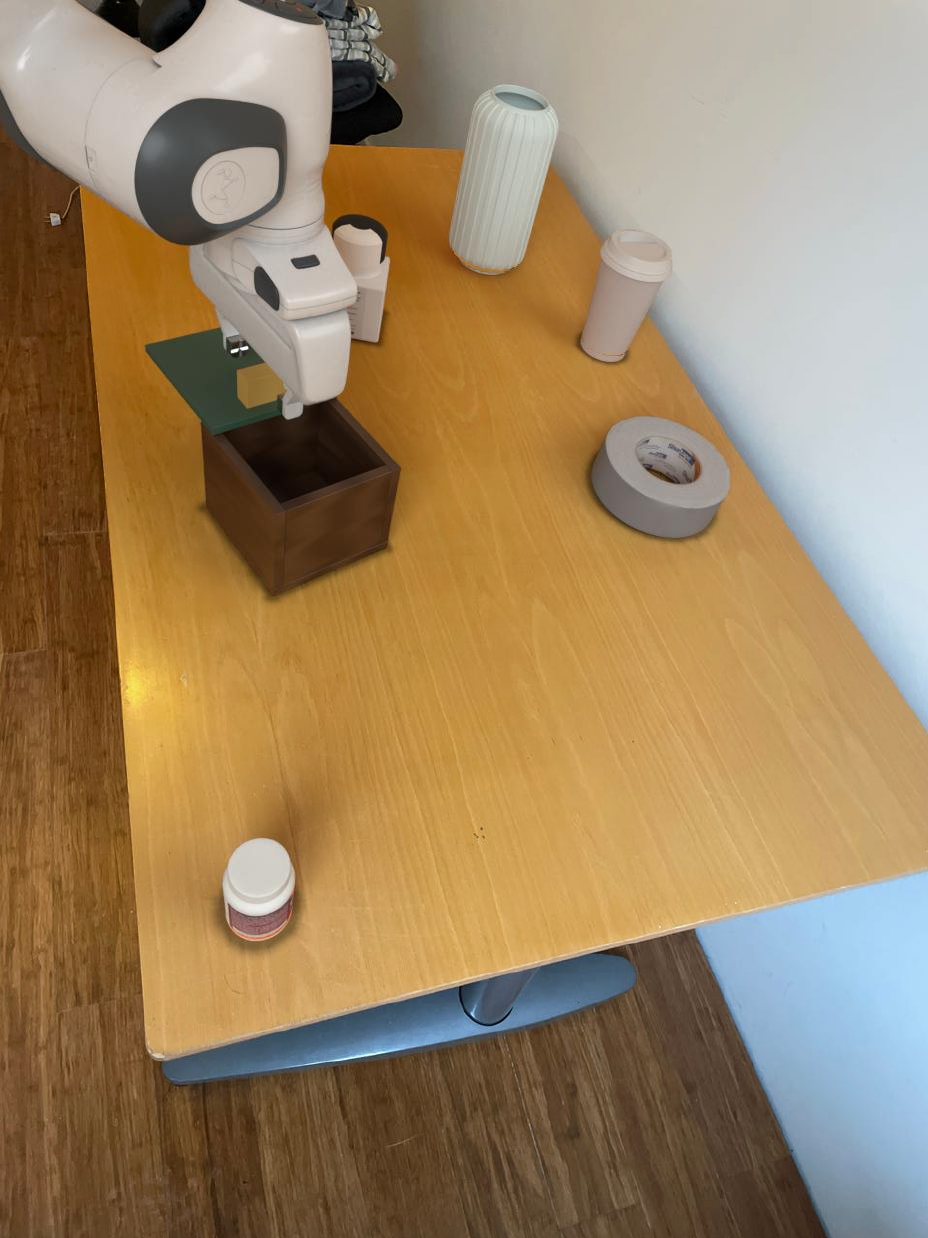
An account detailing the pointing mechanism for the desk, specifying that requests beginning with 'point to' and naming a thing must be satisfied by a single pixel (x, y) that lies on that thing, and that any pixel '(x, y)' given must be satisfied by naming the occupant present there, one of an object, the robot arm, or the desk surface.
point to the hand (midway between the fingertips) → (262, 382)
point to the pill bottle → (258, 889)
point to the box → (300, 493)
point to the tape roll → (648, 496)
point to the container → (364, 270)
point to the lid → (218, 380)
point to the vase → (502, 177)
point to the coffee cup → (624, 291)
